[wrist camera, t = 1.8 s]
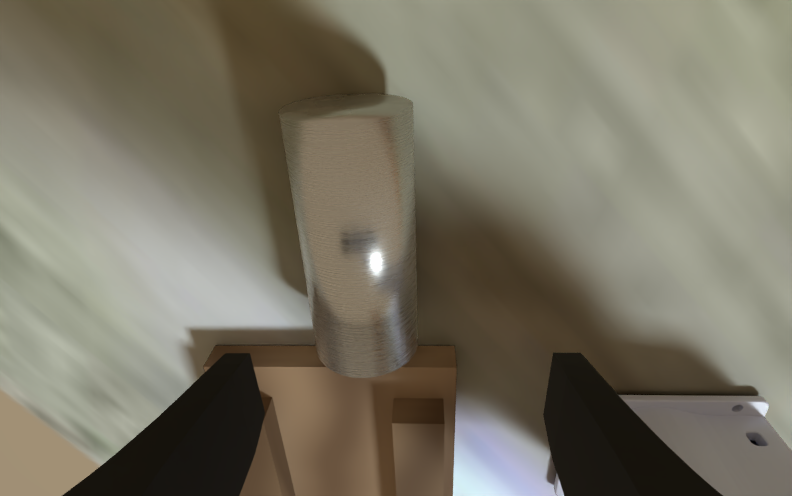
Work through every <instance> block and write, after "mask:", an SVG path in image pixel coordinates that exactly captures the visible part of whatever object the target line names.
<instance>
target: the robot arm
mask: <svg viewBox="0 0 792 496" xmlns="http://www.w3.org/2000/svg"><path fill="white" fill-rule="evenodd" d="M768 408H769V404H768V402H767V401H766V400H765V399H764V398H763V397H761V396H689V395H618V394H617V393H616V392H615V391H614V390H613V388H612V387H611V386H610V385H609V384H608V383H607V382H606V381H605V380H604V378H603V377H602V376H601V375H600V374H599V373H598V372H597V371H596V369H595V368H594V367H593V366H592V365H591V364H590V363H589V362H588V360H587V359H586V358H585V357H584V356H583V355H582V354H581V353H553V358H552V364H551V370H550V377H549V383H548V389H547V395H546V402H545V408H544V414H543V415H544V420H545V425H546V431H547V436H548V441H549V445H550V450H551V455H552V459H553V462H554V465H555V468H556V471H557V473H556V478H555V483H554V490H555V494H556V495H557V496H792V451H791V449H790V448H789V447H788V446H787V444H786V443H785V442H784V441H783V439H782V438H781V437H780V436H779V434H778V433H777V432H776V431H775V430H774V428H773V427H772V426H771V425H770V423H769V422H768V421H767V420H766V418H765V417H764V416H765V414H766V412H767V410H768ZM264 416H265V410H264V406H263V402H262V398H261V394H260V390H259V387H258V383H257V379H256V375H255V371H254V367H253V363H252V359H251V355H250V353H225V354H224V355H223V356H222V357H221V358H220V359H219V360H218V361H216V362H215V363H214V364H213V365H212V366H211V367H210V368H209V369H208V370H207V371H206V372H205V373H204V374H203V375H202V376H201V377H200V378H199V379H198V380H197V381H196V382H195V383H194V384H193V385H192V386H191V387H189V388H188V389H187V390H186V391H185V392H184V393H183V394H182V395H181V396H180V397H179V398H178V399H177V400H176V401H175V402H174V403H173V404H172V405H171V406H169V407H168V408H167V409H166V410H165V411H164V412H163V413H162V414H161V415H160V416H159V417H158V418H157V419H156V420H154V421H153V422H152V423H151V424H150V425H149V426H148V427H146V428H145V429H144V430H143V431H142V432H141V433H139V434H138V435H137V436H136V437H135V438H134V439H133V440H131V441H130V442H129V443H128V444H127V445H126V446H124V447H123V448H122V449H121V450H120V451H119V452H118V453H116V454H115V455H114V456H113V457H112V458H110V459H109V460H108V461H107V462H105V463H104V464H103V465H102V466H100V467H99V468H98V469H97V470H95V471H94V472H93V473H92V474H90V475H89V476H88V477H86V478H85V479H84V480H82V481H81V482H80V483H79V484H77V485H76V486H75V487H73V488H72V489H71V490H70V491H68V492H67V493H65V494H64V495H63V496H239V495H240V493H241V490H242V488H243V485H244V482H245V480H246V477H247V474H248V472H249V469H250V466H251V464H252V461H253V458H254V455H255V452H256V448H257V445H258V441H259V437H260V433H261V429H262V424H263V420H264Z"/></svg>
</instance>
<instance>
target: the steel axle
mask: <svg viewBox="0 0 792 496" xmlns="http://www.w3.org/2000/svg"><path fill="white" fill-rule="evenodd" d="M279 117H280V124H281V130H282V136H283V142H284V149H285V155H286V161H287V167H288V174H289V180H290V186H291V192H292V199H293V205H294V211H295V217H296V224H297V230H298V236H299V242H300V249H301V255H302V261H303V267H304V274H305V280H306V286H307V292H308V299H309V305H310V311H311V317H312V324H313V330H314V336H315V342H316V349H317V354H318V356H319V359H320V360H321V362H322V363H323V364H324V365H325V366H326V367H327V368H329V369H330V370H332V371H333V372H335V373H338V374H340V375H343V376H347V377H353V378H372V377H378V376H382V375H385V374H388V373H391V372H393V371H395V370H397V369H399V368H401V367H402V366H403V365H405V364H406V363H407V362H408V361H409V360H410V359H411V358H412V357H413V355H414V353H415V352H416V349H417V346H418V315H417V268H416V220H415V173H414V126H413V102H412V101H411V100H409V99H407V98H404V97H400V96H395V95H388V94H344V95H328V96H321V97H314V98H309V99H304V100H300V101H297V102H293V103H291V104H288V105H286V106H284V107H282V108H281V109H280V110H279Z"/></svg>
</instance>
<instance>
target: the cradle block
mask: <svg viewBox="0 0 792 496" xmlns="http://www.w3.org/2000/svg"><path fill="white" fill-rule="evenodd" d="M225 353H250V355H251V359H252V363H253V367H254V371H255V375H256V379H257V383H258V387H259V390H260V394H261V398H262V402H263V406H264V410H265V416H264V420H263V424H262V429H261V433H260V437H259V441H258V445H257V448H256V452H255V455H254V458H253V461H252V464H251V466H250V469H249V472H248V474H247V477H246V480H245V482H244V485H243V488H242V490H241V493H240V495H239V496H453V467H454V436H455V405H456V374H457V365H456V355H455V346H417V349H416V352H415V353H414V355H413V357H412V358H411V359H410V360H409V361H408V362H407V363H406V364H405V365H403V366H402V367H401V368H399V369H397V370H395V371H393V372H391V373H388V374H385V375H382V376H378V377H372V378H353V377H347V376H343V375H340V374H338V373H335V372H333V371H332V370H330V369H329V368H327V367H326V366H325V365H324V364H323V363H322V362H321V360H320V359H319V356H318V354H317V349H316V346H215V347H214V349H213V351H212V353H211V354H210V356H209V358H208V359H207V361H206V363H205V365H204V366H203V367H204V370H205V372H206V371H207V370H208V369H209V368H210V367H211V366H212V365H213V364H214V363H215V362H216V361H218V360H219V359H220V358H221V357H222V356H223V355H224V354H225Z"/></svg>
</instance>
